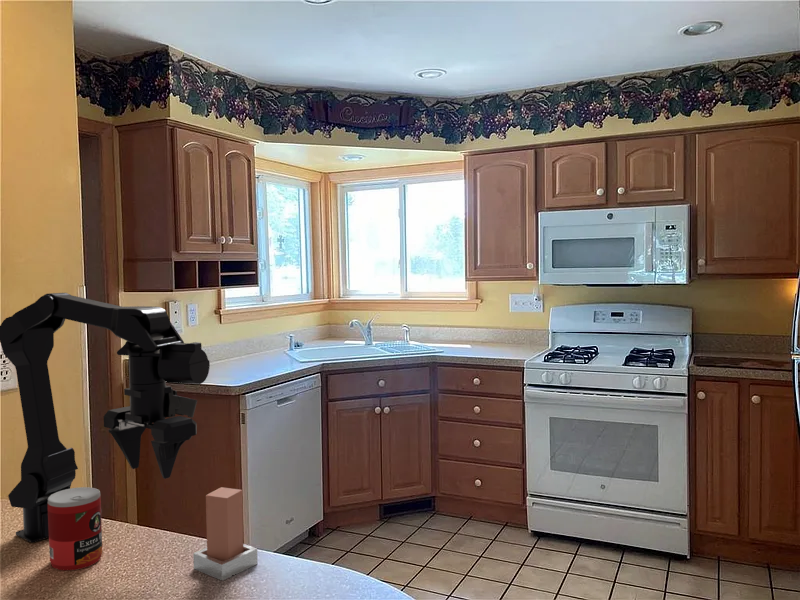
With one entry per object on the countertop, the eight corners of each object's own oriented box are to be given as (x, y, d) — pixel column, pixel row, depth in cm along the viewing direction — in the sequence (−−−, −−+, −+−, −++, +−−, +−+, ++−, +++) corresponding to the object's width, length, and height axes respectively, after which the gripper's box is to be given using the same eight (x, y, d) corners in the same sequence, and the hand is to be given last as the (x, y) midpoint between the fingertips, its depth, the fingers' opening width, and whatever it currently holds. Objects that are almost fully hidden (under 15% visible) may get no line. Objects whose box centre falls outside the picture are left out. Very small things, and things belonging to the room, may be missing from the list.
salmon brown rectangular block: (207, 569, 104) (205, 495, 103) (222, 559, 107) (221, 487, 107) (228, 573, 102) (227, 498, 102) (243, 562, 106) (242, 489, 105)
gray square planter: (193, 568, 104) (193, 553, 104) (229, 552, 110) (228, 538, 109) (222, 580, 100) (221, 564, 100) (257, 563, 105) (257, 548, 105)
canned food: (82, 573, 103) (80, 504, 102) (38, 569, 104) (35, 501, 104) (113, 552, 110) (111, 488, 110) (71, 548, 112) (69, 485, 111)
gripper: (222, 380, 111) (224, 470, 112) (157, 370, 122) (160, 453, 123) (164, 390, 102) (167, 488, 103) (100, 379, 113) (103, 468, 114)
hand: (150, 473), depth 111 cm, fingers open, 9 cm apart
